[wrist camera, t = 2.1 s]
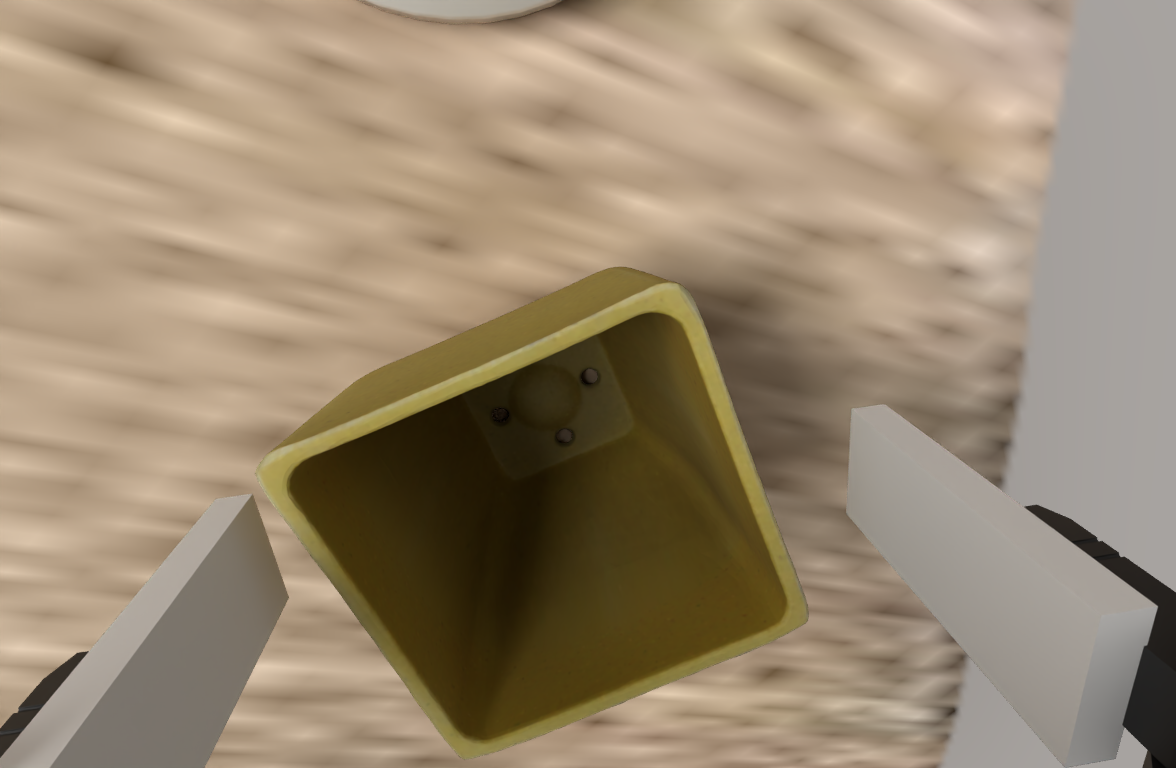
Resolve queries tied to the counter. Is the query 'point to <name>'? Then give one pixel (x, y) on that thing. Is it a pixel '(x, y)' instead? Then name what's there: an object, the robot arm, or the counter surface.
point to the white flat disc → (461, 9)
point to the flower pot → (544, 512)
